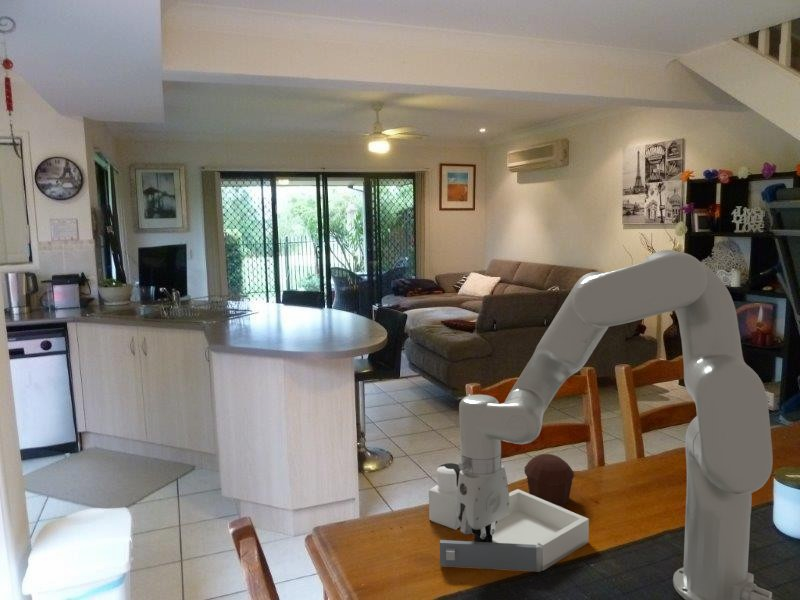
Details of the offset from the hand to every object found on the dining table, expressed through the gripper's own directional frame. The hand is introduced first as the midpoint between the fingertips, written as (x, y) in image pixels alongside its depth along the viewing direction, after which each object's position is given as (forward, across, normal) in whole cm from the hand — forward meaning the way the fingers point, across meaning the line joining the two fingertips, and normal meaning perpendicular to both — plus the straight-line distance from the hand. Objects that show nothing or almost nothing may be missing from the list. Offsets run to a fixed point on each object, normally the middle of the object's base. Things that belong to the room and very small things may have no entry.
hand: (483, 553), depth 108 cm
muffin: (+2, +30, +8) cm, 31 cm away
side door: (+1, -2, -3) cm, 4 cm away
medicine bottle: (+1, +6, +16) cm, 17 cm away
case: (+2, +12, 0) cm, 12 cm away
